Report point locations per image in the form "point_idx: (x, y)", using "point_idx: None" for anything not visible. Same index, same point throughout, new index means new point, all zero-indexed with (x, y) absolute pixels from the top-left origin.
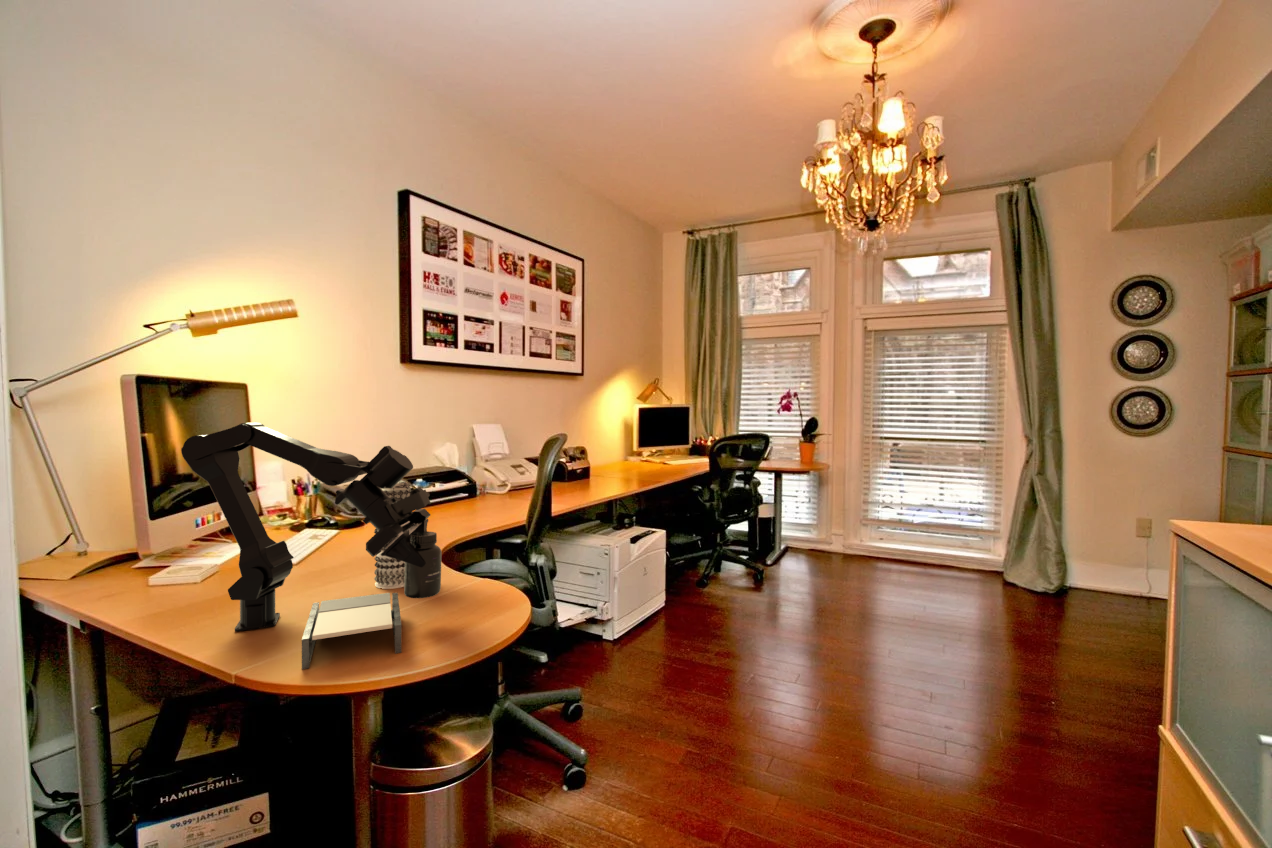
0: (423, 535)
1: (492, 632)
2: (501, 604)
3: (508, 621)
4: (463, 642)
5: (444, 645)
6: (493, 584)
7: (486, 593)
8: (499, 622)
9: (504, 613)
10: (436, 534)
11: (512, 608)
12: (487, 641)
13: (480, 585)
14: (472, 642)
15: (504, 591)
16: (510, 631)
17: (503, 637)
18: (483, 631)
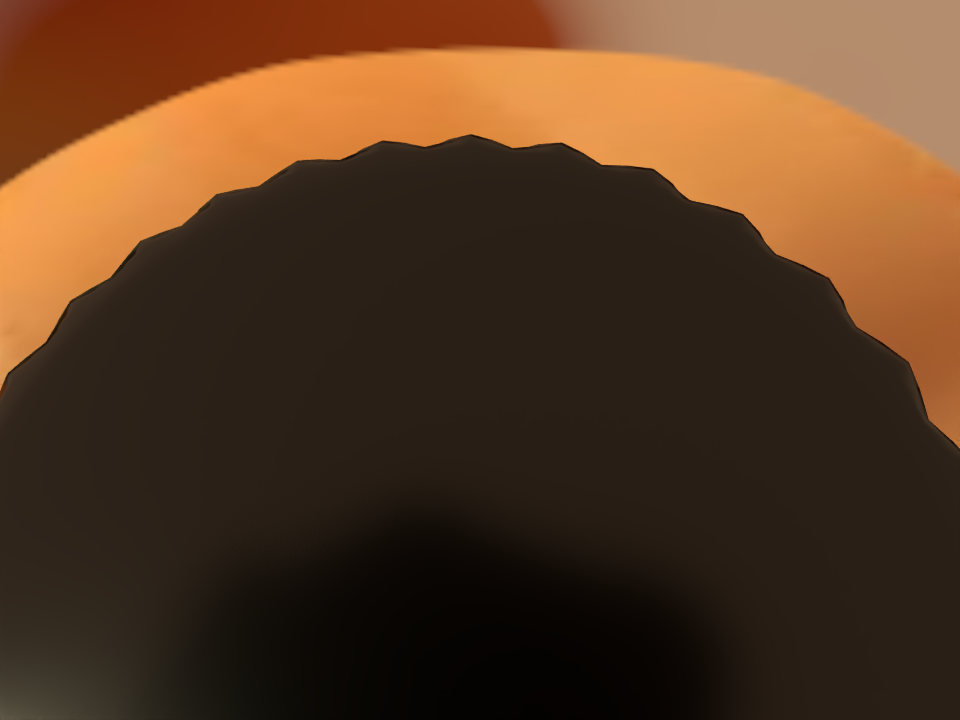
0: (804, 647)
1: (791, 177)
2: (379, 136)
3: (647, 102)
4: (915, 324)
5: (946, 429)
6: (41, 177)
7: (172, 212)
8: (650, 144)
9: (522, 121)
10: (414, 159)
11: (460, 84)
12: (920, 201)
13: (23, 245)
14: (922, 276)
15: (182, 122)
16: (795, 93)
17: (875, 125)
18: (766, 222)
